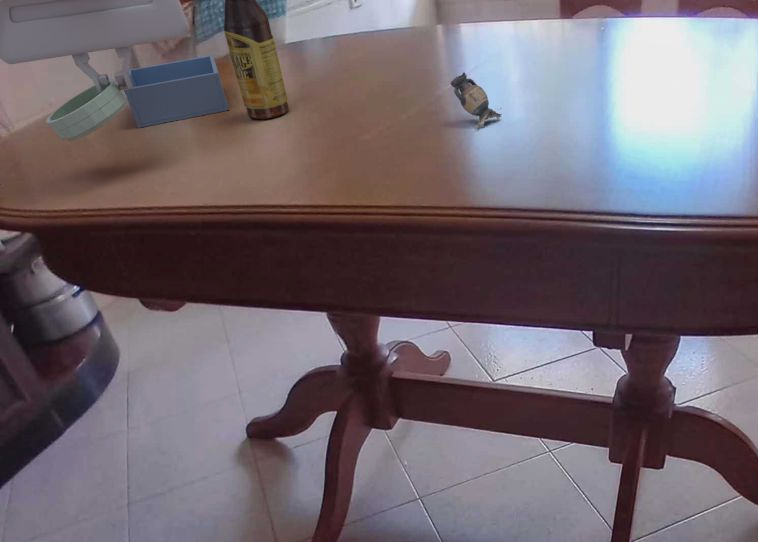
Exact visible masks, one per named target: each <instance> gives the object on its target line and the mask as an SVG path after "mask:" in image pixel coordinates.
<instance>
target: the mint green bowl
mask: <svg viewBox="0 0 758 542" xmlns="http://www.w3.org/2000/svg"><path fill="white" fill-rule="evenodd" d="M108 82H110V84H109V85H108V87H107V88H106V89H105V90H104V91H102V92H101V93H100V94H99V93H98V92H97V89H96V87H95V84H94V85H92V86H90V87H88V88H86V89H84V90H82V91H81V92H79V93H77V94H76V95H75V96H73V97H71V98H69V99H68V100H67V101H66V102H64V103H63V104H61V105H60V106H59V107H57V108H56V109H55V110H54V111H53V112H52V113H50V115H49V116H47V118H46V120H45V123H46V124H47V125H48V126H49V127H50V128H51V129H52V130H53V132H54V133H55V134H56V135H57V137H59V139H61V140H62V141H64V140H66V141H68V142H75V141H78V140H80V139H82V138H84V137H87V136H89V135H90V134H92V133H94V132H96V131H97V130H99V129H100V128H102V127H103V126H106V125H107V124H108V123H110V122H111V121H112V120H113V119H115V118H116V117H117V116H118V115H120V113H122V112H123V111H124V110H125V108H126V107H127V106H128V100H127V96H126V94H125V92H124V90H119V87H118V82H116V80H115V79H113V78H109V81H108Z"/></svg>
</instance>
